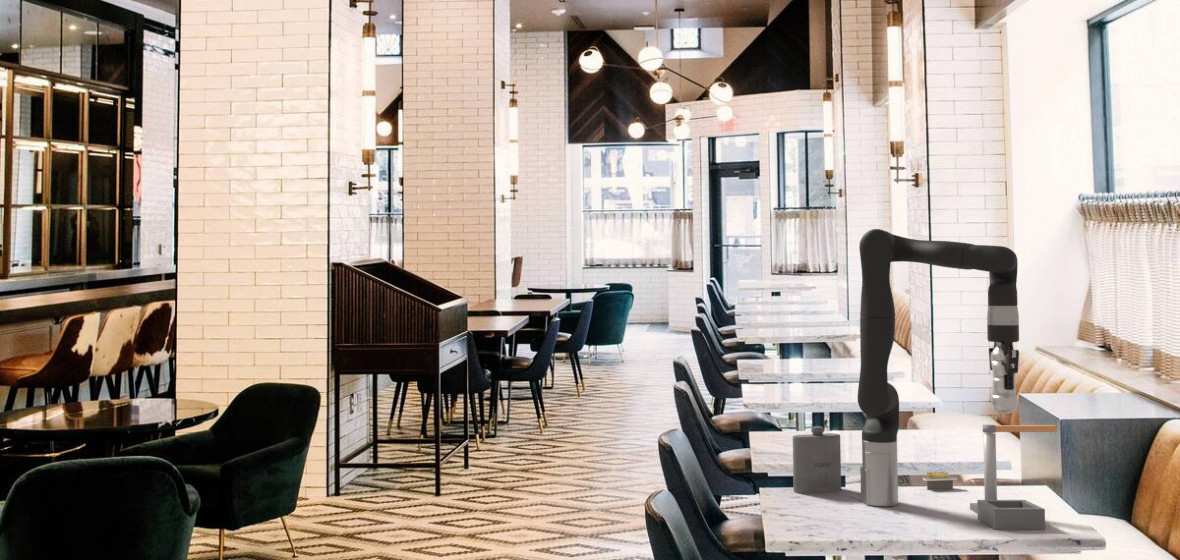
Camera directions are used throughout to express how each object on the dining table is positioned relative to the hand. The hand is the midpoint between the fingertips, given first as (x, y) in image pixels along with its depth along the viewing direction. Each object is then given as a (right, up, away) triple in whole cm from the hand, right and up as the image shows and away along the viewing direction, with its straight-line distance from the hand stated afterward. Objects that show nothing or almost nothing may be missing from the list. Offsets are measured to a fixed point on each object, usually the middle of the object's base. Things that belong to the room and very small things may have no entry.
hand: (1004, 388), depth 237 cm
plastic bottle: (0, -7, 0) cm, 7 cm away
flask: (-41, -35, +29) cm, 61 cm away
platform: (-5, -35, +31) cm, 47 cm away
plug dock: (-2, -33, -3) cm, 33 cm away
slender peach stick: (+6, -12, +4) cm, 14 cm away
